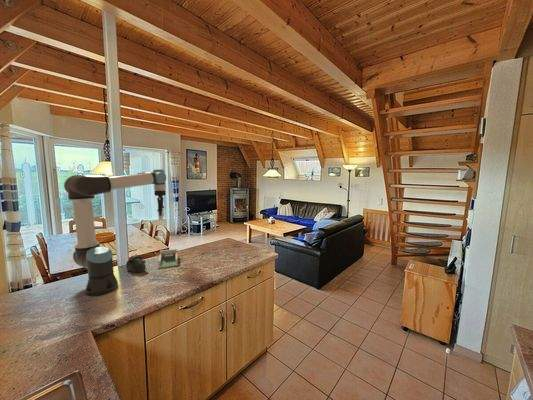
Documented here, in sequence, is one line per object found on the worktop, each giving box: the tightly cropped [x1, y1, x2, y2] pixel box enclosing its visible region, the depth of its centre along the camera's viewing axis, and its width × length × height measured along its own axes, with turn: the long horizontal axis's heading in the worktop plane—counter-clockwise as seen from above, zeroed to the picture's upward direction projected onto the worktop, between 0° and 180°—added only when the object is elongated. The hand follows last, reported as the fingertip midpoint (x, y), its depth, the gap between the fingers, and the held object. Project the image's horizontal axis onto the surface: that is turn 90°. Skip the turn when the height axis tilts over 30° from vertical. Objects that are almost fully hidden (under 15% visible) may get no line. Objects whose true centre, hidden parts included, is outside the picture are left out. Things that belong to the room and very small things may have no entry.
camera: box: [125, 255, 146, 274], centre depth 159 cm, size 13×10×10 cm
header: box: [157, 248, 179, 270], centre depth 173 cm, size 20×13×7 cm, turn 21°
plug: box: [163, 251, 174, 261], centre depth 177 cm, size 7×6×5 cm
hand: (161, 218), depth 177 cm, fingers open, 13 cm apart
